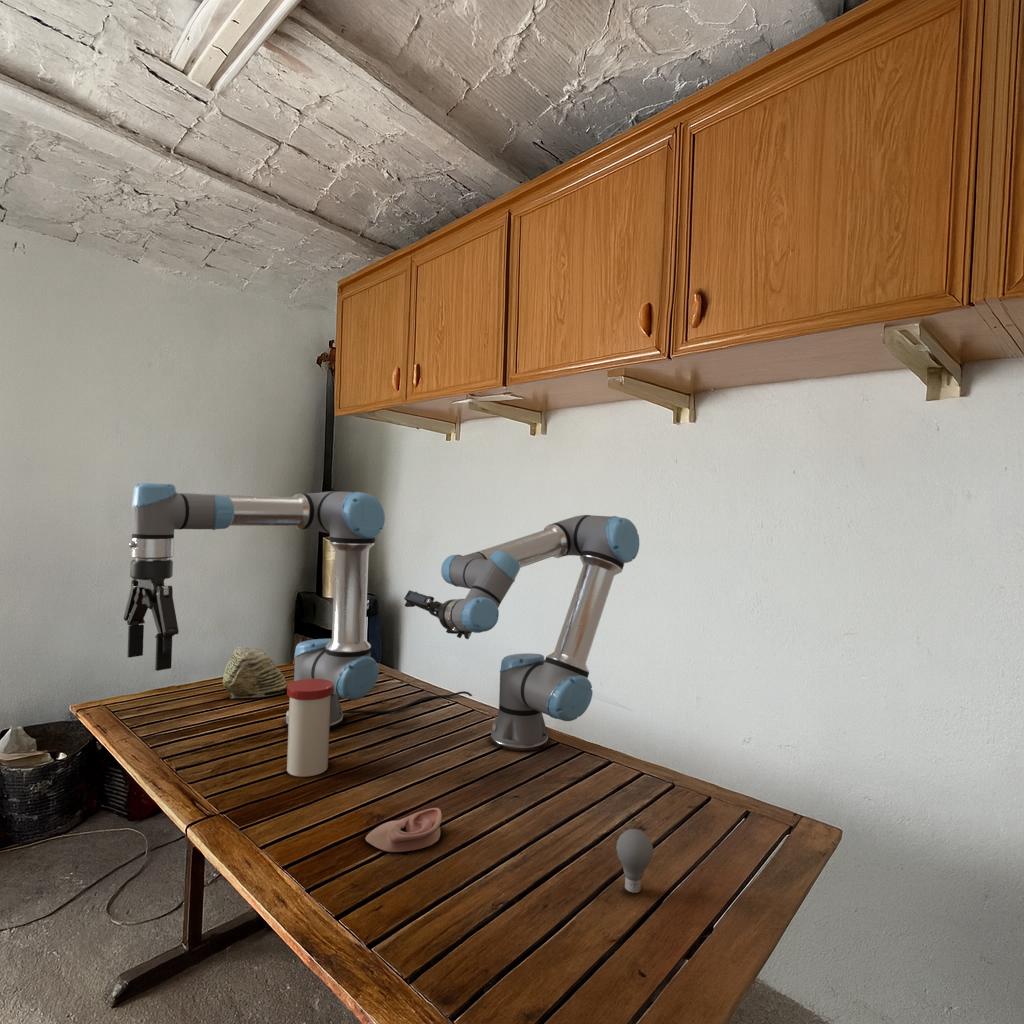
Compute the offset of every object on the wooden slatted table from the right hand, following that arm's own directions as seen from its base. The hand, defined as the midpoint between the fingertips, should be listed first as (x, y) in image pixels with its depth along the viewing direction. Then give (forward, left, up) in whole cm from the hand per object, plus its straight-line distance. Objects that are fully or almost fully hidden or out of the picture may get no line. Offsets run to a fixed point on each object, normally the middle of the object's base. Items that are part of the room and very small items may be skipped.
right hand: (428, 615), depth 169 cm
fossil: (+40, -50, -33) cm, 72 cm away
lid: (+31, +10, -14) cm, 35 cm away
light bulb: (-14, +76, -33) cm, 84 cm away
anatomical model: (+18, +47, -33) cm, 60 cm away
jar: (+31, +10, -33) cm, 46 cm away
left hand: (+64, +15, -5) cm, 65 cm away
